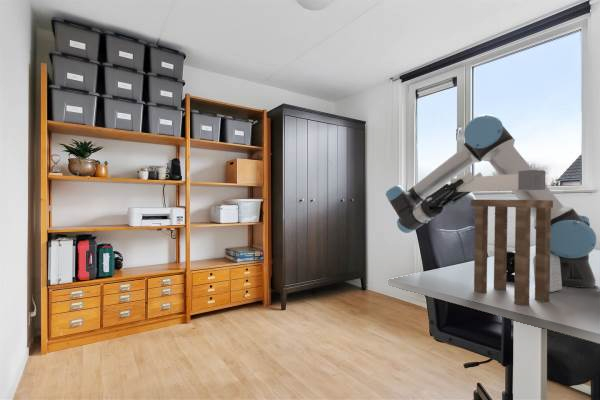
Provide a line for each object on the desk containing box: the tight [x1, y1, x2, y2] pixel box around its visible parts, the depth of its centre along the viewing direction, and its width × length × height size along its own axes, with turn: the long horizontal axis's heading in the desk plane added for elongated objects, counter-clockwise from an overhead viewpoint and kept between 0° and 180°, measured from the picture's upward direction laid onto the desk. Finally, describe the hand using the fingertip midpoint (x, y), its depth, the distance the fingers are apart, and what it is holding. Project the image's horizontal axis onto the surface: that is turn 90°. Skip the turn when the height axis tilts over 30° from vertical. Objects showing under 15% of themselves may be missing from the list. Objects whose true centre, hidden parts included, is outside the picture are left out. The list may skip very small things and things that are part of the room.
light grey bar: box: [449, 169, 546, 193], centre depth 96 cm, size 5×27×5 cm, turn 23°
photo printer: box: [532, 251, 563, 293], centre depth 98 cm, size 10×4×12 cm, turn 120°
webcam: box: [506, 250, 515, 283], centre depth 110 cm, size 8×8×10 cm
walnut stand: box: [470, 199, 553, 307], centre depth 91 cm, size 12×16×28 cm
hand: (476, 175), depth 101 cm, fingers closed on light grey bar, 4 cm apart
